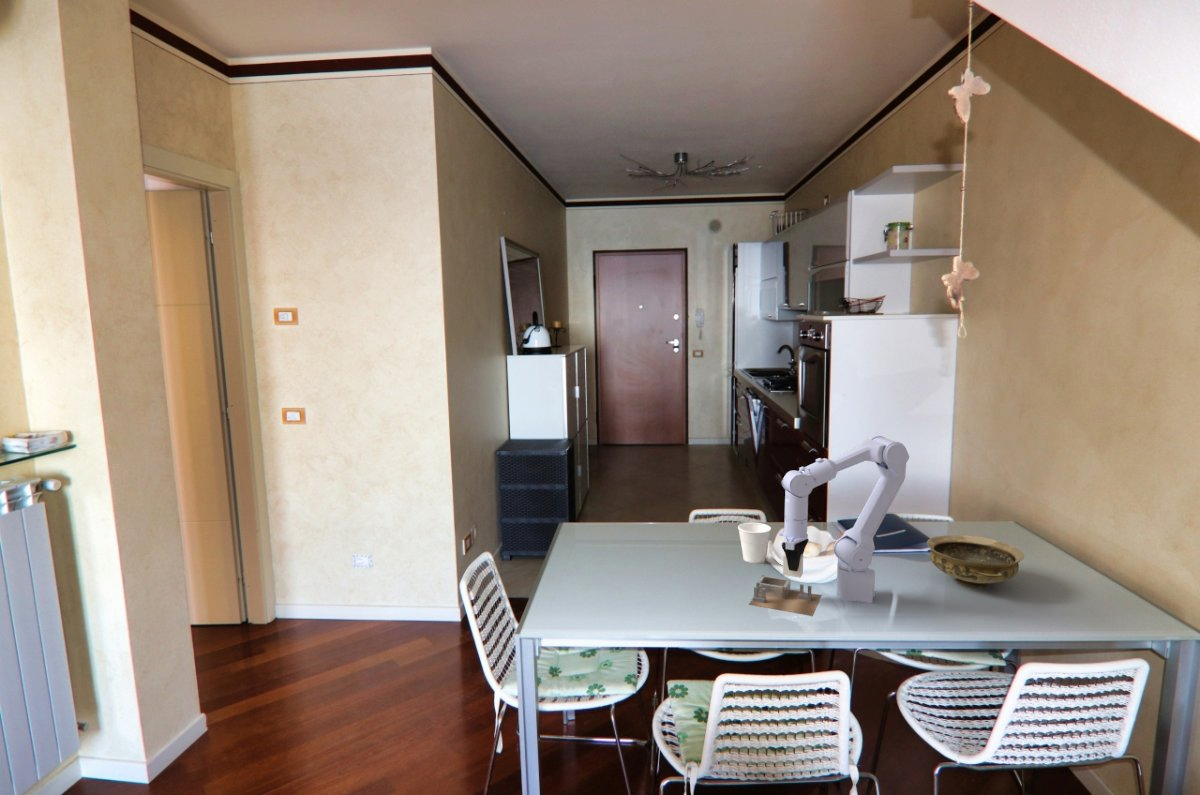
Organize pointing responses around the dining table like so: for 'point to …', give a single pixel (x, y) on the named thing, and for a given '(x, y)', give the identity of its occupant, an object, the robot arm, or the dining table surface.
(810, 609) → the board
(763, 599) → the clip
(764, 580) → the end holder
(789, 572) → the connector
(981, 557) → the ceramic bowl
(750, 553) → the cup
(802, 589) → the clip
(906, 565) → the dining table surface
